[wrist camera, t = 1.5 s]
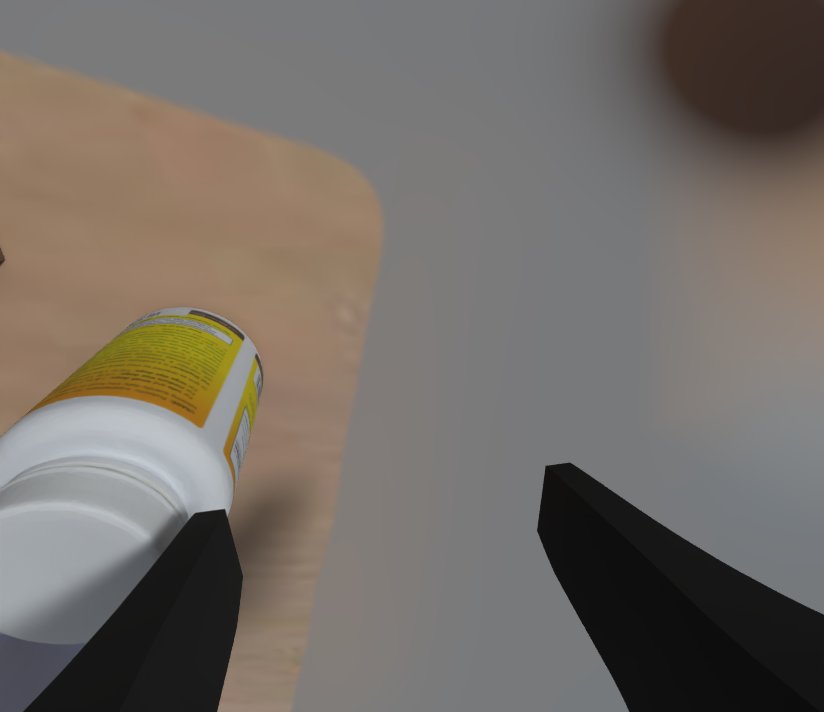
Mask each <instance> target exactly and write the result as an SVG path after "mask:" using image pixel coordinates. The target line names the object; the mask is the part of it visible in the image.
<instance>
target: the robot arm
mask: <svg viewBox="0 0 824 712" xmlns="http://www.w3.org/2000/svg"><path fill="white" fill-rule="evenodd" d="M537 532H538V534H539V536H540V539H541V542H542V544H543V547H544V549H545V552H546V554H547V557H548V559H549V561H550V564H551V566H552V568H553V571H554V573H555V575H556V577H557V578H558V580H559V582H560V584H561V586H562V588H563V589H564V591H565V593H566V595H567V596H568V598H569V600H570V602H571V604H572V606H573V608H574V609H575V611H576V613H577V615H578V617H579V618H580V620H581V622H582V624H583V625H584V627H585V629H586V631H587V633H588V634H589V636H590V638H591V639H592V641H593V643H594V645H595V647H596V648H597V650H598V652H599V654H600V655H601V657H602V659H603V661H604V663H605V665H606V666H607V668H608V670H609V671H610V673H611V675H612V677H613V679H614V681H615V683H616V685H617V687H618V689H619V691H620V693H621V695H622V697H623V699H624V701H625V703H626V705H627V708H628V710H629V712H824V615H823V614H821V613H819V612H817V611H815V610H813V609H810V608H808V607H806V606H804V605H802V604H800V603H798V602H796V601H794V600H792V599H790V598H788V597H786V596H784V595H782V594H780V593H778V592H777V591H775V590H773V589H771V588H769V587H767V586H765V585H763V584H762V583H760V582H758V581H756V580H754V579H752V578H751V577H749V576H747V575H745V574H743V573H741V572H739V571H738V570H736V569H734V568H732V567H730V566H729V565H727V564H725V563H723V562H722V561H720V560H718V559H716V558H715V557H713V556H711V555H710V554H708V553H707V552H705V551H703V550H702V549H700V548H698V547H696V546H695V545H693V544H691V543H690V542H688V541H687V540H685V539H683V538H682V537H680V536H679V535H677V534H675V533H674V532H672V531H671V530H669V529H668V528H666V527H665V526H663V525H662V524H660V523H658V522H657V521H655V520H654V519H652V518H651V517H649V516H648V515H646V514H645V513H643V512H642V511H640V510H639V509H637V508H636V507H634V506H633V505H632V504H630V503H629V502H627V501H626V500H624V499H623V498H621V497H620V496H618V495H617V494H616V493H614V492H613V491H611V490H610V489H608V488H607V487H605V486H604V485H603V484H601V483H599V482H598V481H597V480H595V479H594V478H592V477H591V476H590V475H588V474H586V473H585V472H583V471H582V470H580V469H579V468H578V467H576V466H575V465H573V464H571V463H563V464H556V465H549V466H546V468H545V475H544V483H543V491H542V498H541V505H540V513H539V520H538V528H537ZM242 580H243V575H242V571H241V567H240V564H239V560H238V556H237V552H236V548H235V544H234V541H233V537H232V533H231V529H230V525H229V522H228V518H227V514H226V510H225V509H220V510H212V511H205V512H197V513H194V514H193V515H192V516H191V518H190V519H189V520H188V521H187V523H186V524H185V525H184V526H183V528H182V529H181V530H180V531H179V533H178V534H177V535H176V536H175V538H174V539H173V540H172V542H171V543H170V544H169V545H168V547H167V548H166V549H165V550H164V552H163V553H162V554H161V556H160V557H159V558H158V559H157V561H156V562H155V563H154V564H153V566H152V567H151V568H150V569H149V571H148V572H147V573H146V574H145V576H144V577H143V578H142V579H141V580H140V582H139V583H138V584H137V585H136V586H135V588H134V589H133V590H132V591H131V592H130V594H129V595H128V596H127V597H126V598H125V600H124V601H123V602H122V603H121V605H120V606H119V607H118V608H117V609H116V611H115V612H114V613H113V614H112V615H111V616H110V618H109V619H108V620H107V621H106V622H105V623H104V624H103V625H102V627H101V628H100V629H99V630H98V631H97V632H96V633H95V634H94V636H93V637H92V638H91V639H90V640H89V641H88V642H87V643H79V644H48V643H39V642H32V641H26V640H22V639H19V638H15V637H12V636H9V635H6V634H3V633H1V632H0V712H217V710H218V706H219V701H220V697H221V693H222V689H223V685H224V680H225V676H226V672H227V668H228V663H229V659H230V655H231V650H232V646H233V642H234V637H235V633H236V628H237V622H238V614H239V606H240V598H241V589H242Z"/></svg>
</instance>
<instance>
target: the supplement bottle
mask: <svg viewBox="0 0 824 712" xmlns="http://www.w3.org/2000/svg"><path fill="white" fill-rule="evenodd" d="M262 386H263V367H262V363H261V359H260V356H259V354H258V352H257V349H256V348H255V346H254V344H253V343H252V341H251V340H250V339H249V337H248V336H247V335H246V334H245V333H244V332H243V331H242V330H241V329H240V328H239V327H237V326H236V325H235V324H233V323H232V322H230V321H229V320H227V319H225V318H223V317H221V316H219V315H217V314H215V313H212V312H209V311H206V310H202V309H197V308H189V307H176V308H167V309H162V310H158V311H155V312H152V313H150V314H148V315H145V316H143V317H141V318H140V319H138V320H137V321H135V322H134V323H132V324H131V325H130V326H129V327H127V328H126V329H125V330H124V331H123V332H122V333H120V334H119V335H118V336H117V337H116V338H114V339H113V340H112V341H111V342H110V343H109V344H107V345H106V346H105V347H104V348H103V349H102V350H100V351H99V352H98V353H97V354H96V355H95V356H93V357H92V358H91V359H90V360H89V361H87V362H86V363H85V364H84V365H83V366H82V367H80V368H79V369H78V370H77V371H76V372H75V373H73V374H72V375H71V376H70V377H69V378H68V379H66V380H65V381H64V382H63V383H62V384H60V385H59V386H58V387H57V388H56V389H55V390H54V391H52V392H51V393H50V394H49V395H48V396H47V397H46V398H44V399H43V400H42V401H41V402H40V403H39V404H37V405H36V406H35V407H34V408H33V409H32V410H30V411H29V412H28V413H27V414H26V415H25V416H23V417H22V418H21V419H20V420H19V421H18V422H16V423H15V424H14V425H13V426H12V427H11V428H10V429H9V430H8V431H7V432H6V433H5V434H4V435H3V436H2V437H1V438H0V632H1V633H3V634H6V635H9V636H12V637H15V638H19V639H22V640H26V641H32V642H39V643H48V644H79V643H87V642H88V641H89V640H90V639H91V638H92V637H93V636H94V634H95V633H96V632H97V631H98V630H99V629H100V628H101V627H102V625H103V624H104V623H105V622H106V621H107V620H108V619H109V618H110V616H111V615H112V614H113V613H114V612H115V611H116V609H117V608H118V607H119V606H120V605H121V603H122V602H123V601H124V600H125V598H126V597H127V596H128V595H129V594H130V592H131V591H132V590H133V589H134V588H135V586H136V585H137V584H138V583H139V582H140V580H141V579H142V578H143V577H144V576H145V574H146V573H147V572H148V571H149V569H150V568H151V567H152V566H153V564H154V563H155V562H156V561H157V559H158V558H159V557H160V556H161V554H162V553H163V552H164V550H165V549H166V548H167V547H168V545H169V544H170V543H171V542H172V540H173V539H174V538H175V536H176V535H177V534H178V533H179V531H180V530H181V529H182V528H183V526H184V525H185V524H186V523H187V521H188V520H189V519H190V518H191V516H192V515H193V514H194V513H197V512H205V511H212V510H220V509H225V510H226V514H227V517H228V514H229V511H230V508H231V505H232V502H233V497H234V493H235V490H236V486H237V482H238V479H239V475H240V471H241V467H242V464H243V460H244V456H245V453H246V449H247V445H248V441H249V438H250V434H251V430H252V426H253V422H254V419H255V414H256V410H257V406H258V402H259V399H260V395H261V391H262Z"/></svg>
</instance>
